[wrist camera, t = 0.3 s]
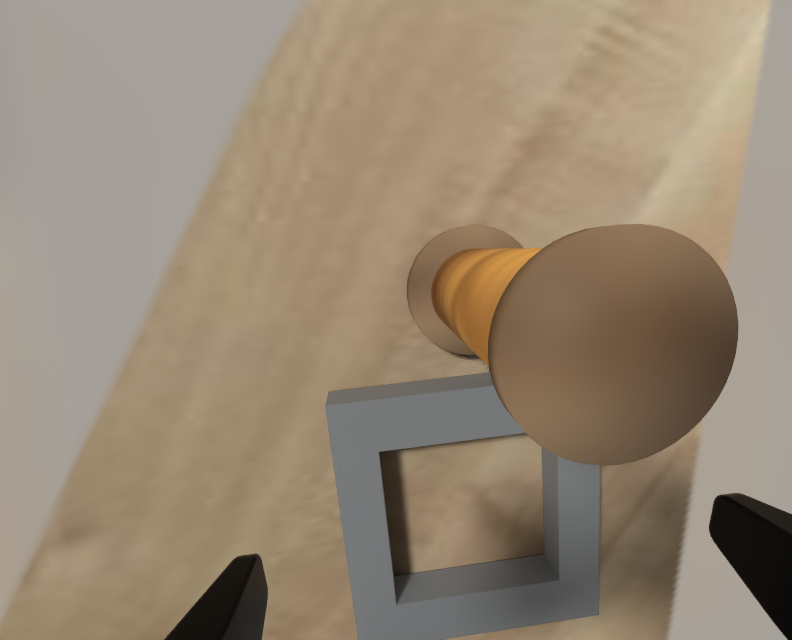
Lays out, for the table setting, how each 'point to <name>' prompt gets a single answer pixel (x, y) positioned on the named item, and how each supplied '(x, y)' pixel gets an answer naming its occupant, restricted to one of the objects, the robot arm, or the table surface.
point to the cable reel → (585, 332)
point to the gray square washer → (466, 585)
